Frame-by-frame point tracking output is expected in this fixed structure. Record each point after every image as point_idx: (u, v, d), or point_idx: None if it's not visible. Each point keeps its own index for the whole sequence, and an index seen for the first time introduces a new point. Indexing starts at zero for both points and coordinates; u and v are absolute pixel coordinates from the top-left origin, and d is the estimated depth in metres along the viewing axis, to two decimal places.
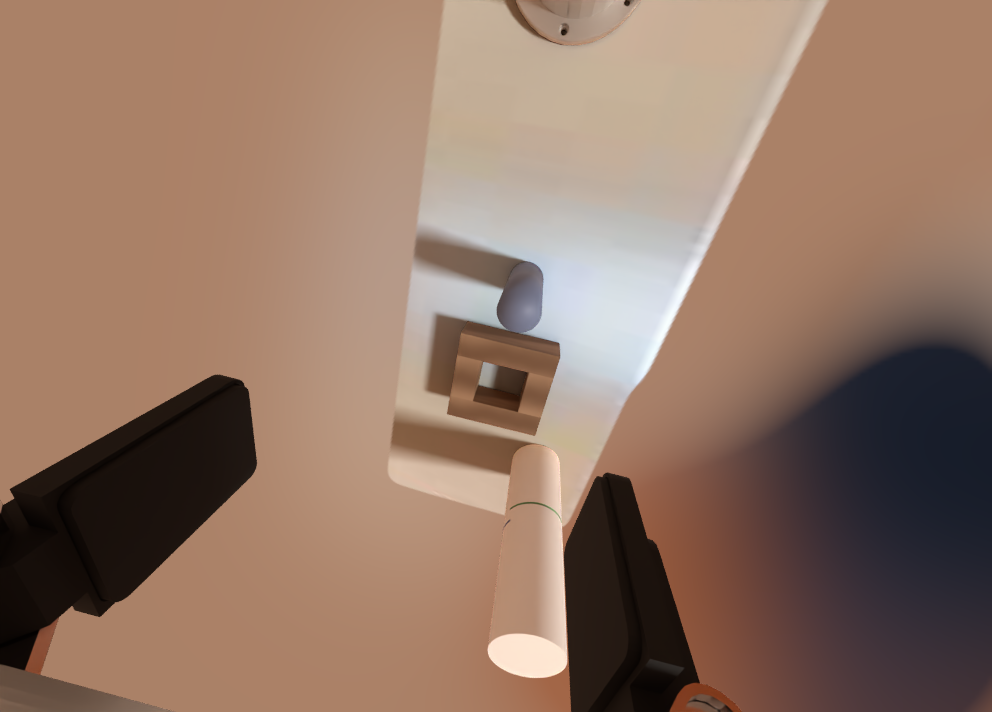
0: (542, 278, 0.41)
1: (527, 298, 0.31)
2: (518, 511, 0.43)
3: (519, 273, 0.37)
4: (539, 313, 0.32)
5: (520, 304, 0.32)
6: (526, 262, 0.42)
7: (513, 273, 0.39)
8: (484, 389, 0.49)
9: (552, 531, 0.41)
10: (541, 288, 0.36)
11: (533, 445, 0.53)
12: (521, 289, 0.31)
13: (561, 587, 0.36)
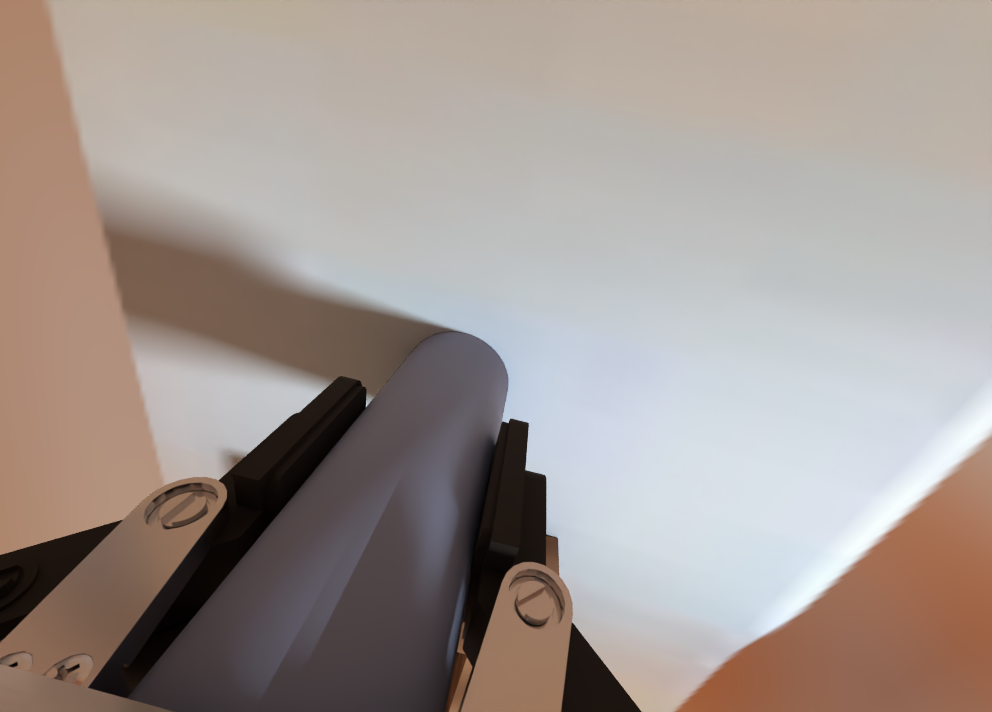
0: (499, 397, 0.12)
1: None
2: None
3: (376, 422, 0.08)
4: None
5: None
6: (451, 334, 0.13)
7: (374, 400, 0.10)
8: None
9: None
10: (471, 510, 0.07)
11: None
12: None
13: None
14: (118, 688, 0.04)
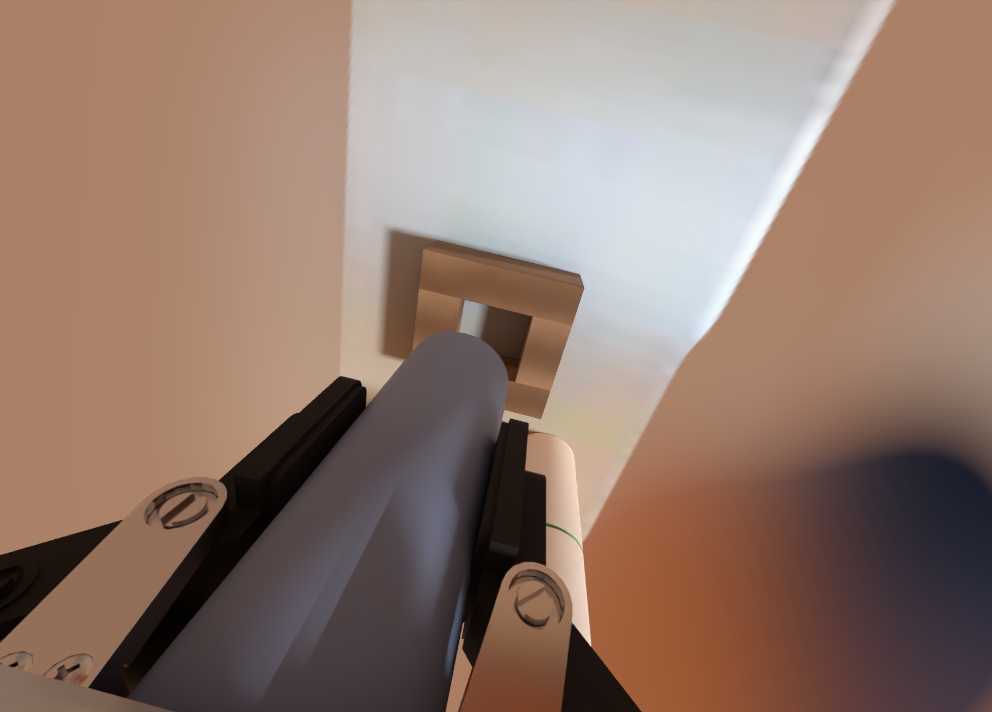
0: (499, 397, 0.12)
1: None
2: None
3: (376, 422, 0.08)
4: None
5: None
6: (451, 334, 0.13)
7: (374, 400, 0.10)
8: None
9: (570, 572, 0.25)
10: (471, 511, 0.07)
11: (537, 434, 0.37)
12: None
13: None
14: (118, 688, 0.04)
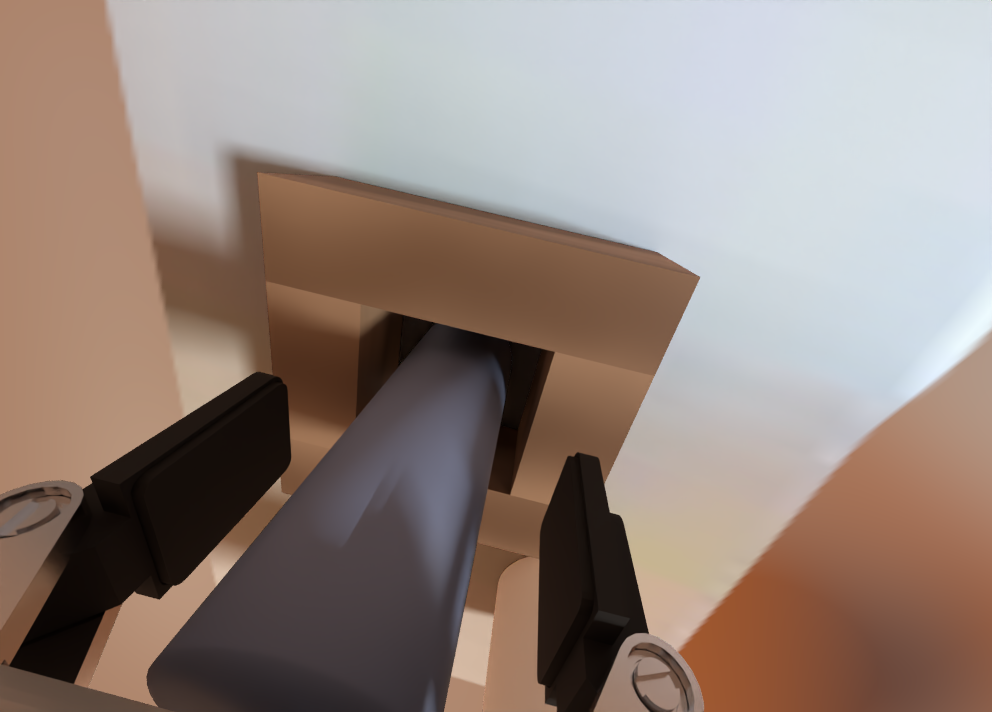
0: (505, 368, 0.13)
1: (322, 694, 0.04)
2: None
3: (406, 379, 0.10)
4: None
5: (285, 710, 0.05)
6: None
7: (401, 366, 0.11)
8: None
9: None
10: (485, 447, 0.09)
11: None
12: (273, 636, 0.04)
13: None
14: None
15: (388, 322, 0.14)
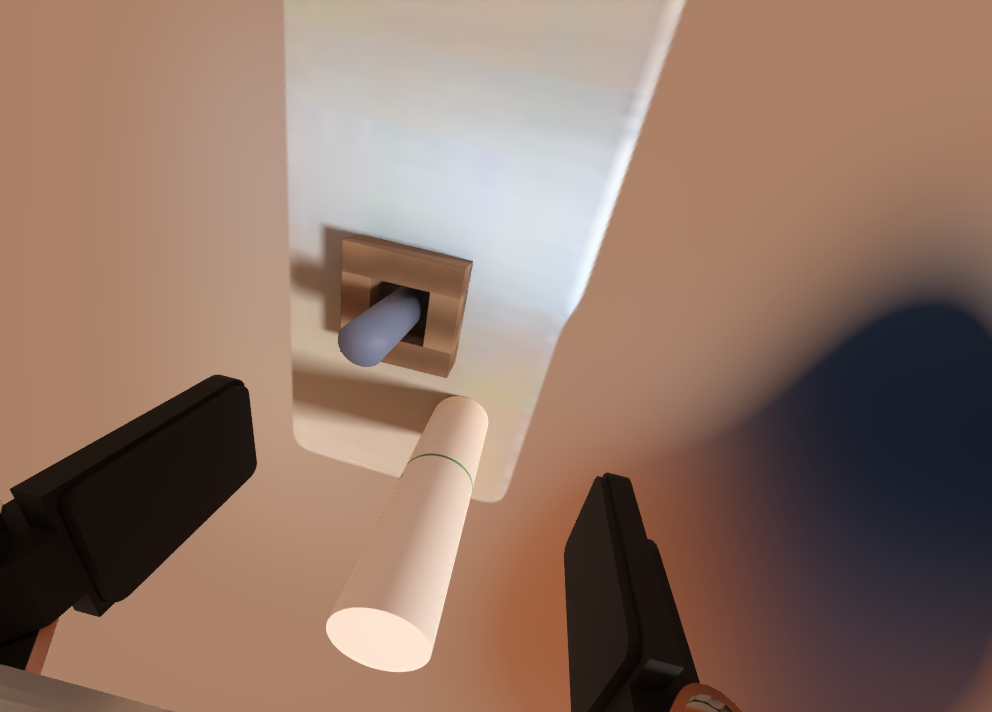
0: (421, 302, 0.38)
1: (367, 331, 0.29)
2: (413, 464, 0.34)
3: (384, 299, 0.34)
4: (383, 347, 0.29)
5: (361, 337, 0.29)
6: None
7: (383, 298, 0.36)
8: None
9: (449, 486, 0.32)
10: (405, 316, 0.34)
11: (455, 397, 0.44)
12: (360, 321, 0.29)
13: (445, 552, 0.28)
14: None
15: (380, 286, 0.38)
